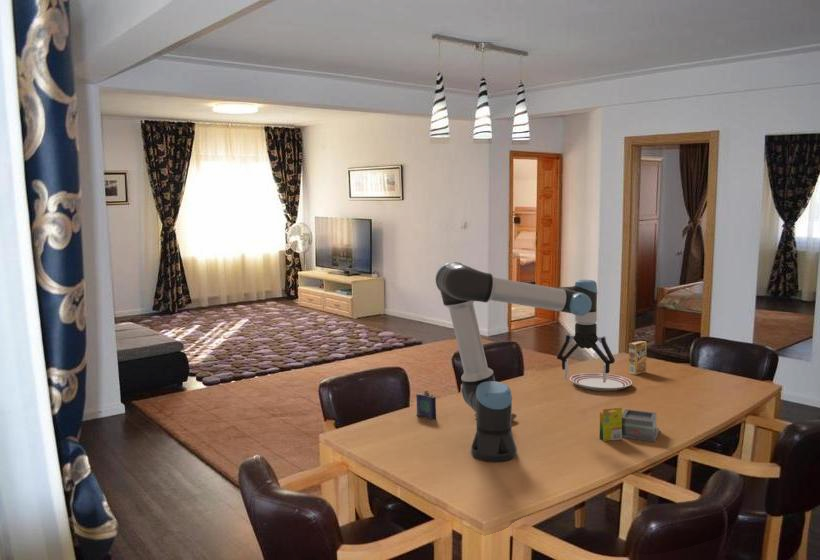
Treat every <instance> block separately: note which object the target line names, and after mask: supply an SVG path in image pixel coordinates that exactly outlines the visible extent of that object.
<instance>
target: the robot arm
mask: <svg viewBox="0 0 820 560" xmlns="http://www.w3.org/2000/svg"><path fill="white" fill-rule="evenodd" d="M435 285H436V287H437V289H438V291H439V292H440V295H441V299H442V303H443V305H444V306H443V307H446V308H448V310H449V313H450V318H451V323H452V326H453V327H452V328H453V330H454V335H455V339H456V344H457V348H458V353H459V357H460V361H461V365H462V369H463V374H462V375H461V376H460V377H461V383H462V386H461V393H462V397H463V399H464V402H465V403H466V405H468V406H469V407H470V408H471V409H472V410H473V412H474V413H476V417H475V418H476V420H475V421H476V429H475V430H476V432H475V434H474V437H473V440H472V444H471V448H470V449H471V450H470V451H471V455H472V457H474V458H475V459H477V460H480V461H483V462H490V463H501V462H502V463H504V462H508V461H511V460H513V459H515V458H516V456H517V452H518V451H517V446H516V445H517V444H516V442H515V439H514V435H513V432H512V421H511V413H512V411H513V409H512V402H513V396H512V390H511V388H510V387H509V385H507V384H505V383H503V382H502V383H501V382H500V381H497V380H496V378H495V374H494V370H493V369H492V368H490V367H488V363H487V358H486V353H485V349H484V344H483V341H482V335H481V332H480V327H479V324H478V323H479V322H478V319H477V314H476V309H475V305H474V302H480V303H481V302H482V303H489V302H490V301H494V302H499V303H500V302H501V303H507V304H512V305H519V306H525V307H531V308H538V309H544V310H550V311H556V312H562V313H566V314H567V313H568V314H572V315H574V322H575V324H574V335H571V334H570V333H569V334H567V335H566V336H565V341H564V344H563V345H562V347H561V349H560V351H559V353H558V355H557V356H556V359H558V360H560V361H561V369H562V370H564V380H568V379H569V360H568V358H569V357H570V356H571V355H572V354H573V353H574V352H575V351H576V350H577V349H578V347H579V348H580V349H588V350H589V349H592V350H593V351H594V352H595V353H596V354H597V356H598V357H599V358H600V359H601V360H602V361H603V365H602V371H603V372H602V373H603V383H605V382H606V374H610V365H611V364H614V363H615V362H616V360H615V357H614V356H613V354H612V353H613V352H612V351H611V348H610V347H609V345H608V343H607V338H606V336H604V335H603V336H598V335H597V333H598V332H597V331H598V330H597V328H598V327H597V321H598V319H597V317H598V315H597V313H598V312H597V308H598V307H597V306H598V286H597V282H596V280H593V279H576V281H575V283H574V285H573V286H556V287H555V286H552V287H551V286H545V285H542V284H541V285H539V284H534V283H528V282H523V281H522V282H521V281H518V280H511V279H506V278H500V277H495V276H494V274H493V273H490V272H489V273H488V272H483V271H482V270H481V271H480V270H478V269H475V268H473V267H470V266H467V265H466V264H462V263H460V262H455V261H453V262H447V263H445V264H443V265H441V266H440V268H439V269H438V270H437V272H436V275H435ZM572 340H574V342H575V344H574V346H573V347H571V348H570V350H569V351H567V352H566V354H565V355H564V353H565V351H566V349H567V347H568V346H569V344H570V342H572ZM598 342H599V343H600V344H601V345H602V347H603V349H604V352H605V354H606V355H605V354H604V353H603V351H602V350H601V349H600V347H599V346H598V344H597V343H598ZM563 355H564V356H563Z"/></svg>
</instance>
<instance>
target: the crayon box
mask: <svg viewBox="0 0 820 560" xmlns="http://www.w3.org/2000/svg"><path fill="white" fill-rule="evenodd" d="M622 414H623V407H617V408H616V407H614V408H613V407H612V408H603V410H602V412H601V411H600V412H599V439H600V440H601V441H602V442H607V441H609V442H610V441H619V440H620V441H622V440H623V437H622Z"/></svg>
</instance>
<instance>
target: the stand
mask: <svg viewBox="0 0 820 560" xmlns="http://www.w3.org/2000/svg"><path fill="white" fill-rule="evenodd" d="M657 417H658V416H657V412H653V411H646V410H645V411H644V410H636V409H628V408H625V409H624V411H622V438H625V439H633V440H637V441H638V440H640V441H646V442H653V443H656V440H657V438H658V435H659V432H660V428H659V427H657Z"/></svg>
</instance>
